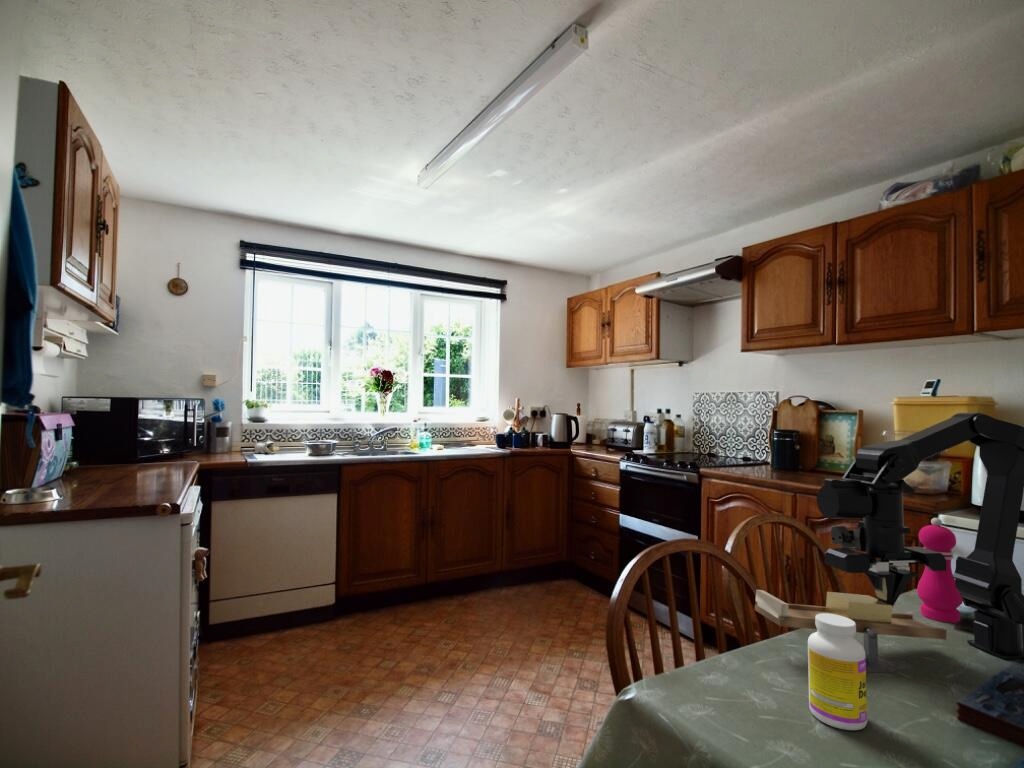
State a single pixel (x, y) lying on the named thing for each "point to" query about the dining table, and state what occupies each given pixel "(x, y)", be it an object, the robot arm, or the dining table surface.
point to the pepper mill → (939, 576)
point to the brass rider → (858, 607)
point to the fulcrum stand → (874, 653)
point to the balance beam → (806, 613)
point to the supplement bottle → (837, 673)
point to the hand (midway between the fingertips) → (886, 610)
